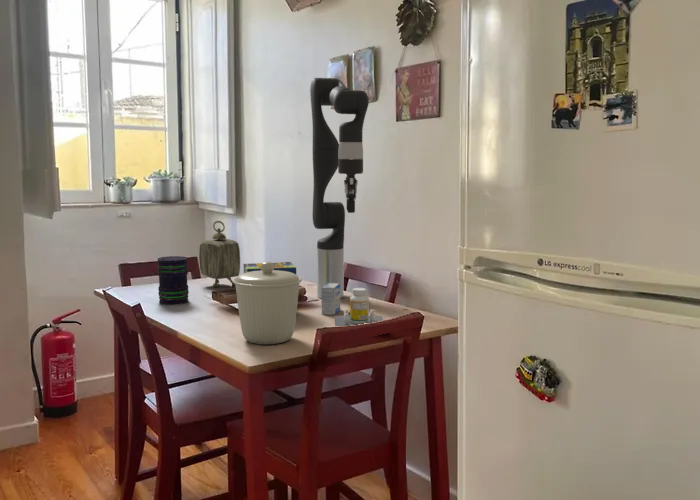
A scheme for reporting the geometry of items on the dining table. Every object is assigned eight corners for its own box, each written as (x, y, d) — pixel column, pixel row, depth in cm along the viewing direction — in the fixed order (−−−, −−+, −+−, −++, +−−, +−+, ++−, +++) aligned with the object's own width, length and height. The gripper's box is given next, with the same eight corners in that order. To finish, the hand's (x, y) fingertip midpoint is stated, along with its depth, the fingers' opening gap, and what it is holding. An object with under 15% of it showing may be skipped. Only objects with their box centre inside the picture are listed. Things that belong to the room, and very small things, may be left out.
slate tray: (334, 320, 201) (334, 306, 201) (381, 320, 202) (381, 305, 201) (335, 334, 186) (335, 318, 185) (386, 334, 186) (386, 318, 186)
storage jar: (187, 298, 234) (186, 255, 232) (190, 303, 225) (189, 259, 223) (158, 300, 231) (156, 256, 229) (159, 305, 222) (157, 261, 220)
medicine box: (335, 315, 209) (335, 287, 208) (321, 314, 210) (321, 287, 209) (340, 309, 217) (340, 283, 216) (327, 309, 218) (327, 282, 216)
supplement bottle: (364, 324, 190) (364, 291, 189) (347, 323, 192) (347, 290, 191) (371, 320, 195) (371, 288, 194) (354, 319, 197) (354, 286, 196)
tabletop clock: (240, 287, 255) (239, 221, 251) (221, 290, 248) (219, 223, 245) (218, 282, 265) (216, 219, 261) (198, 285, 258) (196, 220, 255)
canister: (302, 348, 172) (302, 266, 169) (230, 350, 170) (229, 267, 168) (302, 330, 190) (301, 256, 187) (237, 332, 188) (235, 257, 185)
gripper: (337, 157, 210) (337, 209, 212) (338, 157, 196) (338, 213, 198) (361, 158, 210) (361, 209, 213) (364, 157, 196) (364, 213, 198)
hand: (350, 211), depth 205 cm, fingers open, 8 cm apart
